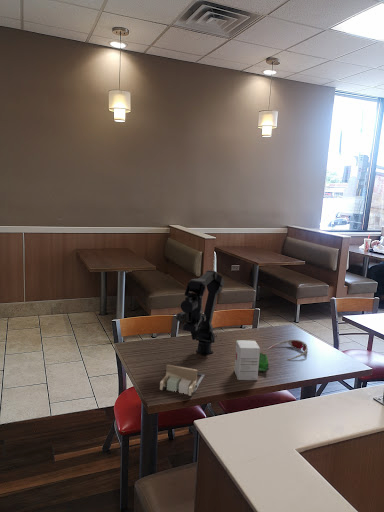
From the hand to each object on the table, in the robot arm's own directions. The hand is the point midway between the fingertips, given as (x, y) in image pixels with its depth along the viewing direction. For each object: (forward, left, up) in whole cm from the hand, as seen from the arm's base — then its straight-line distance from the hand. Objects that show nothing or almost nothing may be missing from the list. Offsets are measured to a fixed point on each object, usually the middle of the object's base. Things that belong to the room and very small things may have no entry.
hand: (193, 339), depth 185 cm
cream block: (+20, +16, -12) cm, 28 cm away
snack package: (-23, +21, -12) cm, 34 cm away
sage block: (+22, +12, -12) cm, 28 cm away
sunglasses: (-50, +21, -13) cm, 56 cm away
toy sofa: (+22, +14, -12) cm, 29 cm away
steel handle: (+14, +10, -12) cm, 21 cm away
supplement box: (-11, +23, -12) cm, 28 cm away
